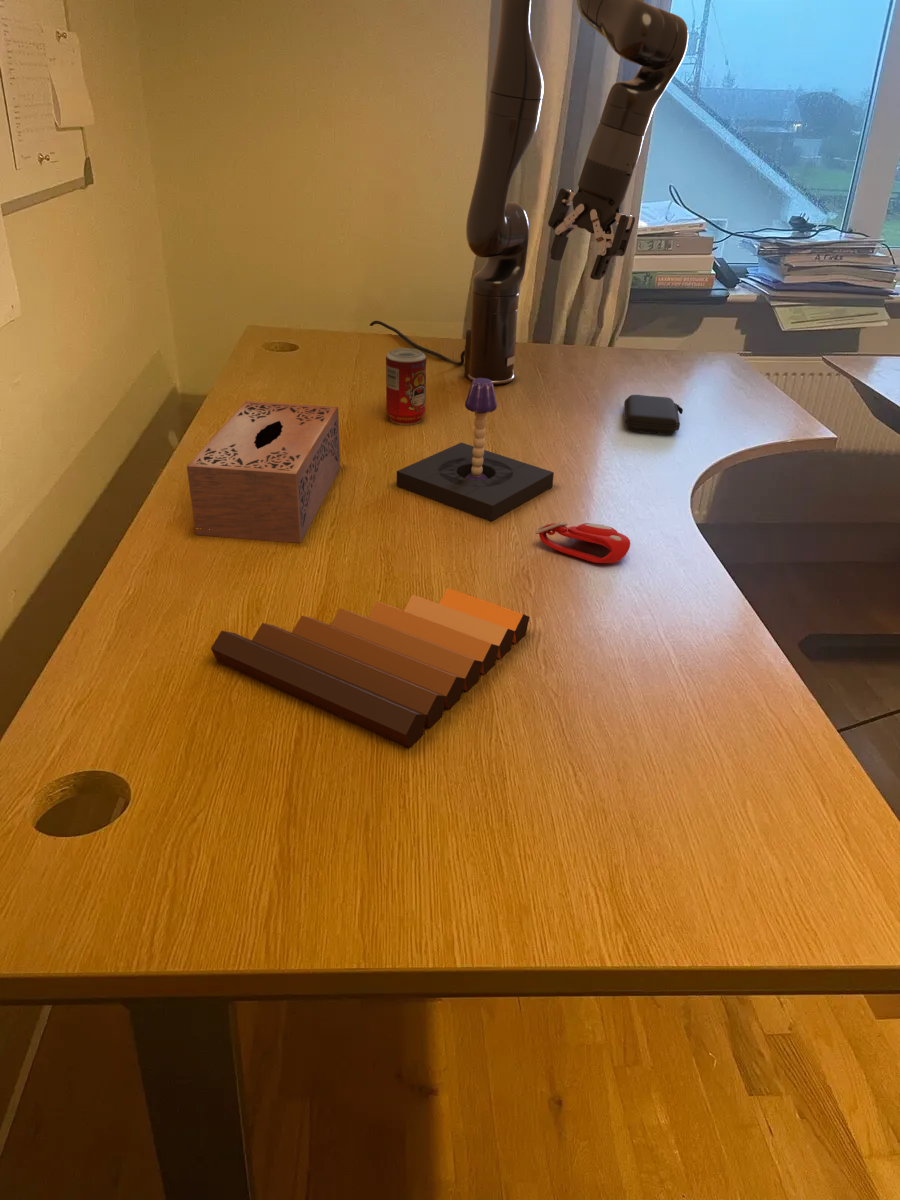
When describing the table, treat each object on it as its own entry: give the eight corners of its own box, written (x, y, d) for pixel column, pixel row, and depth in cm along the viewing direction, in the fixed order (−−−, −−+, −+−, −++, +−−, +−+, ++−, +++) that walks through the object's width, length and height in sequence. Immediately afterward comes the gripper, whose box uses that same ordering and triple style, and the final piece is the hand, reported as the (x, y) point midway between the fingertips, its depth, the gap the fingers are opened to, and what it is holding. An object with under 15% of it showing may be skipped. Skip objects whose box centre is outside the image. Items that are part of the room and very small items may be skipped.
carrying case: (684, 439, 156) (679, 411, 169) (687, 422, 155) (682, 395, 167) (623, 433, 158) (623, 406, 170) (625, 417, 156) (625, 391, 169)
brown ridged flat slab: (212, 664, 95) (405, 752, 84) (209, 638, 93) (405, 724, 82) (354, 570, 113) (528, 632, 102) (354, 546, 112) (530, 607, 101)
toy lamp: (498, 488, 136) (505, 381, 127) (474, 495, 134) (480, 387, 125) (478, 477, 139) (483, 373, 131) (454, 484, 137) (458, 378, 128)
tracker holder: (604, 520, 125) (649, 534, 117) (599, 551, 126) (643, 567, 118) (531, 514, 120) (573, 529, 111) (526, 546, 121) (567, 563, 112)
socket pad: (396, 486, 136) (396, 471, 134) (460, 456, 147) (461, 442, 145) (491, 521, 126) (492, 505, 125) (552, 487, 137) (554, 472, 136)
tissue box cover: (251, 461, 142) (245, 400, 137) (340, 467, 141) (338, 407, 136) (195, 535, 120) (186, 466, 115) (300, 543, 119) (296, 473, 114)
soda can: (410, 429, 156) (410, 359, 150) (378, 420, 160) (377, 352, 153) (433, 418, 161) (434, 350, 155) (402, 410, 165) (402, 343, 158)
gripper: (561, 145, 136) (528, 253, 144) (634, 174, 129) (595, 285, 137) (589, 150, 141) (556, 254, 149) (661, 178, 134) (622, 285, 142)
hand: (575, 269), depth 143 cm, fingers open, 8 cm apart
